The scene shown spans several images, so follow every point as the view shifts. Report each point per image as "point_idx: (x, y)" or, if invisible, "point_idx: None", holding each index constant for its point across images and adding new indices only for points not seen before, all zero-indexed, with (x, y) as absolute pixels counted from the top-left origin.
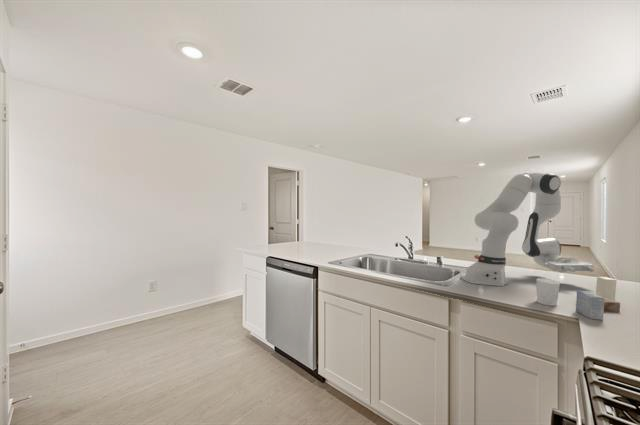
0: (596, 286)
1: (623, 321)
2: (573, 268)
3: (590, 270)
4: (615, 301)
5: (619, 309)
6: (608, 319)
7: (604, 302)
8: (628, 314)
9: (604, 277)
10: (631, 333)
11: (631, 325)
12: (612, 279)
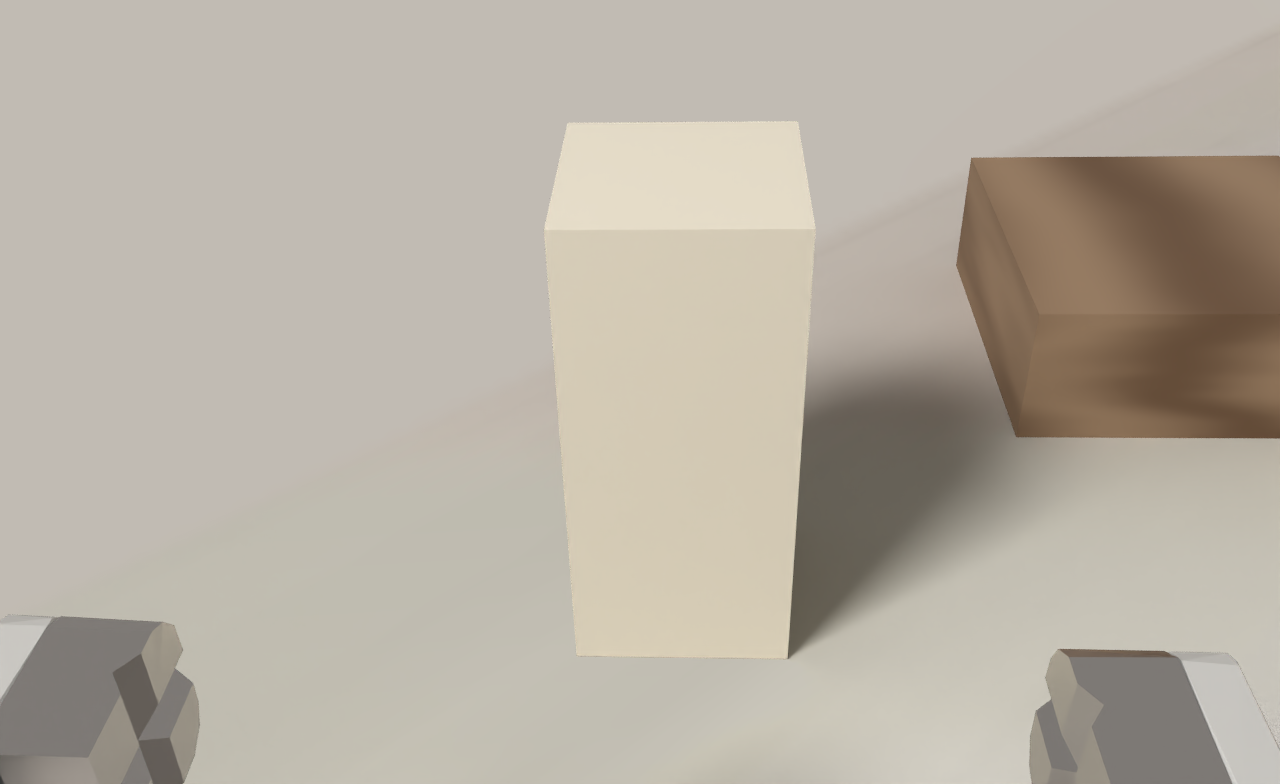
0: (798, 456)
1: (1149, 135)
2: (1133, 669)
3: (157, 725)
4: (996, 177)
5: (962, 240)
6: (1274, 149)
7: (1184, 160)
8: (926, 222)
9: (662, 203)
10: (1259, 44)
11: (1141, 101)
12: (638, 131)
